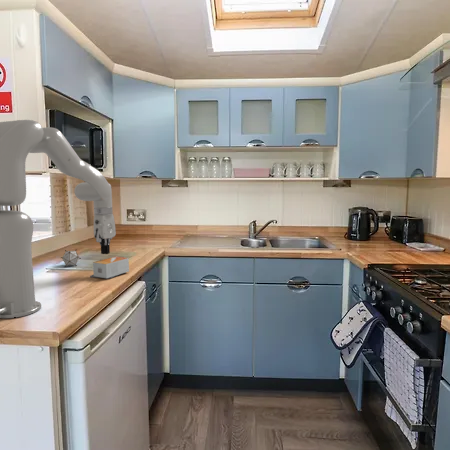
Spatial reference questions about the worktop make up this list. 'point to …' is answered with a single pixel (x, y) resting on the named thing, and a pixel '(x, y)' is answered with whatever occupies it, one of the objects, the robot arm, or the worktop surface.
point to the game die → (70, 258)
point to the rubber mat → (100, 277)
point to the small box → (110, 267)
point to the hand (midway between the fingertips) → (105, 253)
